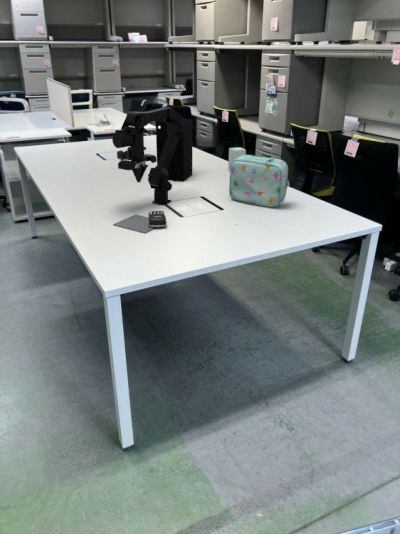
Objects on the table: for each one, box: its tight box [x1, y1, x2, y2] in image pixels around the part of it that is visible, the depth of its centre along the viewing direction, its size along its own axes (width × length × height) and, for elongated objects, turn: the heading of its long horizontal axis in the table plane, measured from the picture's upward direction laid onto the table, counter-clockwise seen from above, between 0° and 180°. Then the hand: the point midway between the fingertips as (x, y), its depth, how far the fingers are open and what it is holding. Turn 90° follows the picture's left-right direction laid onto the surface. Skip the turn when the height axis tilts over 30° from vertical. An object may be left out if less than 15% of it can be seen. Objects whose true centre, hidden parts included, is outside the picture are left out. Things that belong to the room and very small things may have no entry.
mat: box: [112, 213, 168, 234], centre depth 174 cm, size 14×16×1 cm
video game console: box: [155, 118, 194, 182], centre depth 231 cm, size 15×15×30 cm
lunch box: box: [228, 154, 290, 208], centre depth 196 cm, size 27×10×21 cm, turn 59°
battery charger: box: [147, 210, 167, 229], centre depth 173 cm, size 7×4×11 cm
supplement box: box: [227, 146, 247, 170], centre depth 250 cm, size 7×7×13 cm
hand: (138, 182), depth 185 cm, fingers closed
